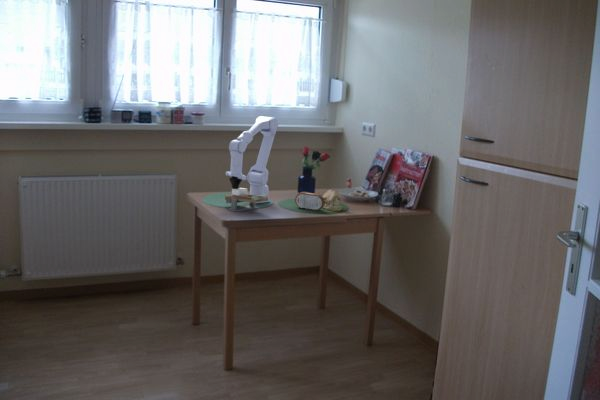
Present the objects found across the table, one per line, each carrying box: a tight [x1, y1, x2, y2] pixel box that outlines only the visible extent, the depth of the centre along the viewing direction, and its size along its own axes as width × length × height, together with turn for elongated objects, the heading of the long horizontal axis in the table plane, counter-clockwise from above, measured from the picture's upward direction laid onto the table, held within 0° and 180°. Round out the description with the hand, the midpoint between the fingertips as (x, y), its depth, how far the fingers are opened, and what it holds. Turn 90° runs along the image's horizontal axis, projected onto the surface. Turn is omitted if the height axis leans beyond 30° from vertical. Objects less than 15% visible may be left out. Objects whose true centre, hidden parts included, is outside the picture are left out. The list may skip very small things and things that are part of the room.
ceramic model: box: [321, 188, 343, 212], centre depth 309 cm, size 14×11×10 cm
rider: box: [231, 187, 249, 197], centre depth 295 cm, size 5×6×4 cm
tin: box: [294, 191, 325, 211], centre depth 303 cm, size 15×3×8 cm, turn 71°
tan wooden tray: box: [224, 194, 269, 204], centre depth 292 cm, size 10×22×4 cm, turn 43°
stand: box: [228, 198, 259, 213], centre depth 293 cm, size 14×5×6 cm, turn 133°
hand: (235, 192), depth 298 cm, fingers closed, pressing on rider
